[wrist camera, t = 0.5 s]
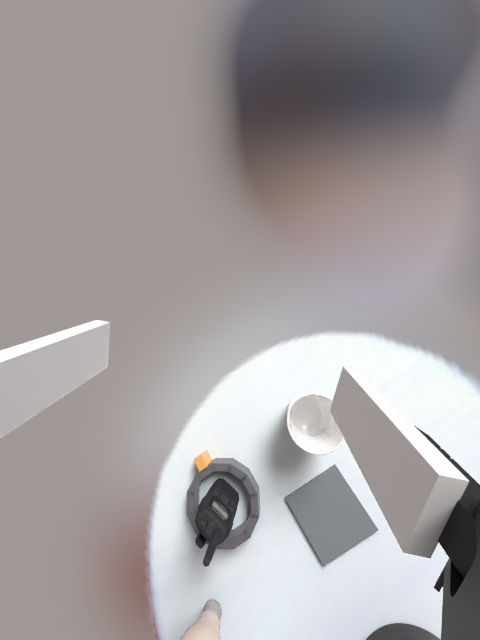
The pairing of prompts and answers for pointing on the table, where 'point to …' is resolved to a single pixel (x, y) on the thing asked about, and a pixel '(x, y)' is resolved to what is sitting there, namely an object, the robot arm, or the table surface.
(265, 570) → the table surface
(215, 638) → the light bulb
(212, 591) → the table surface
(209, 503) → the two-way radio
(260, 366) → the table surface
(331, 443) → the white cup
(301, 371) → the table surface
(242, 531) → the dock collar
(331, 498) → the mat
